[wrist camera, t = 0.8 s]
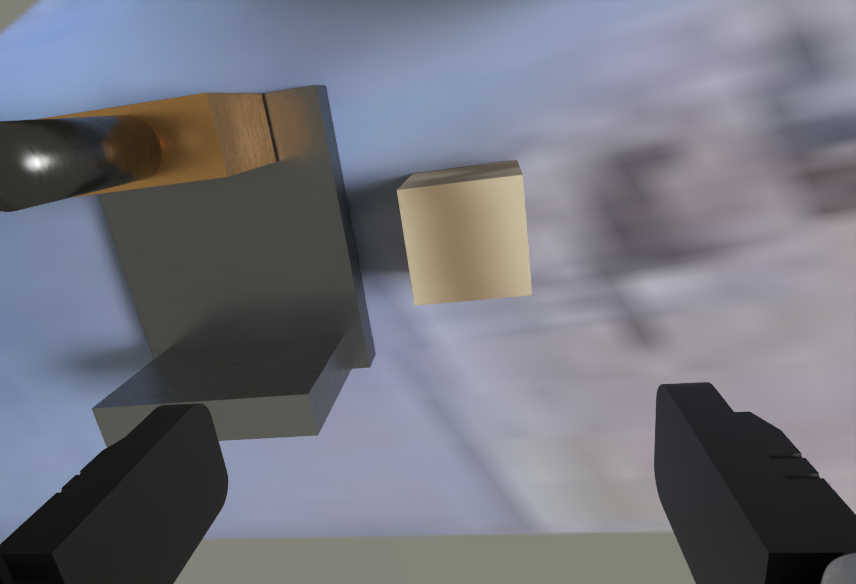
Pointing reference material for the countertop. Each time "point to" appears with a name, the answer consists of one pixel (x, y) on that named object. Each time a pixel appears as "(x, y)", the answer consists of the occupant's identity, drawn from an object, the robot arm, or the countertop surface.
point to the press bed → (246, 286)
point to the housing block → (466, 233)
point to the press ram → (132, 147)
